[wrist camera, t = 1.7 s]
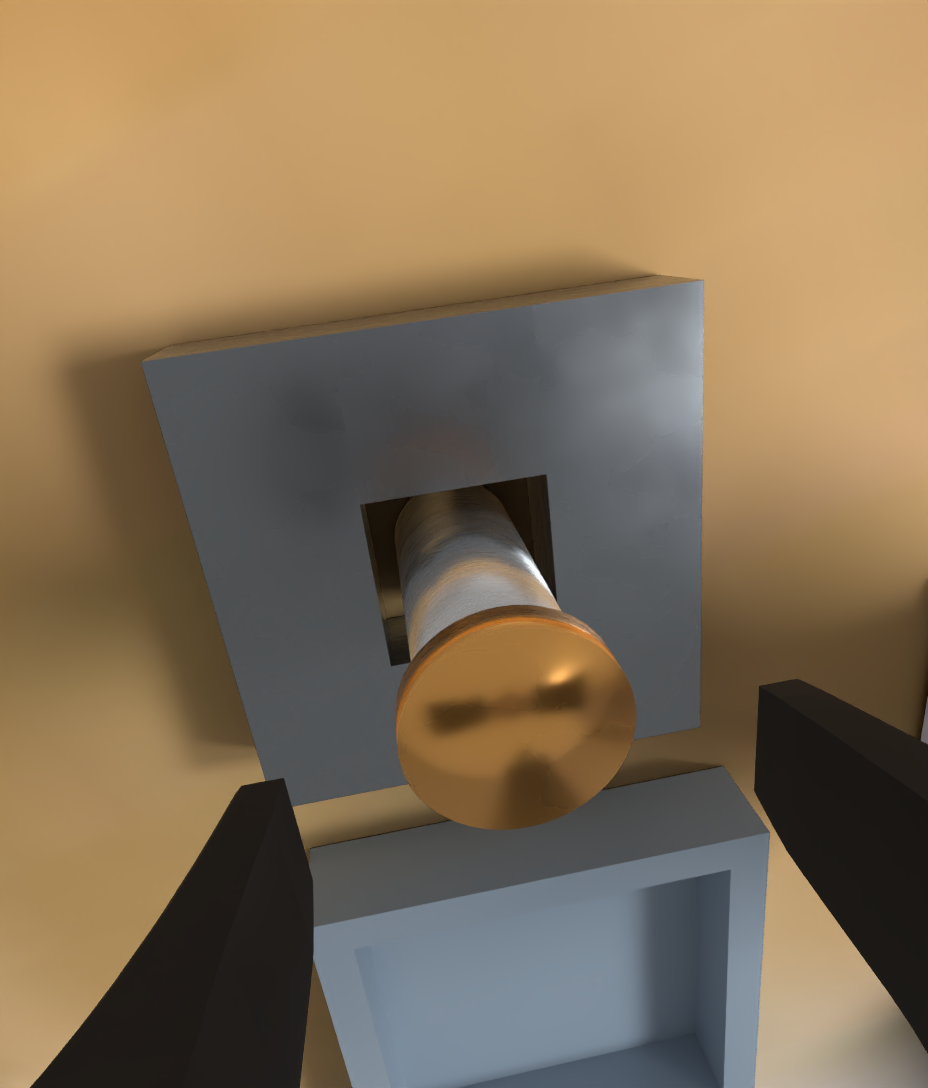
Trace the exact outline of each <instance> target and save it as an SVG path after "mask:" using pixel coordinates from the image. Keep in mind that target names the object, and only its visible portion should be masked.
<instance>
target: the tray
mask: <svg viewBox="0 0 928 1088" xmlns="http://www.w3.org/2000/svg"><path fill="white" fill-rule="evenodd" d="M769 839H770V832H769V830H768V829H767V827H766V826H765V825H764V823H763V822H762V820H761V819H760V817H759V816H758V815H757V813H756V812H755V810H754V809H753V807H752V806H751V805H750V803H749V802H748V800H747V799H746V797H745V796H744V795H743V793H742V792H741V790H740V789H739V787H738V786H737V785H736V783H735V782H734V780H733V779H732V777H731V776H730V775H729V773H728V772H727V770H726V769H725V767H724V766H722V767H717V768H712V769H707V770H702V771H697V772H692V773H687V774H682V775H677V776H672V777H667V778H662V779H657V780H652V781H647V782H642V783H637V784H632V785H627V786H622V787H617V788H612V789H607V790H602V791H600V792H599V793H598V794H597V795H595V796H594V797H593V798H591V799H590V800H589V801H588V802H586V803H585V804H583V805H582V806H580V807H579V808H577V809H575V810H574V811H572V812H570V813H568V814H566V815H564V816H562V817H559V818H557V819H554V820H552V821H549V822H546V823H543V824H539V825H535V826H531V827H526V828H519V829H507V830H494V829H483V828H477V827H471V826H468V825H464V824H461V823H458V822H455V821H453V820H452V821H447V822H442V823H437V824H432V825H427V826H422V827H417V828H412V829H407V830H402V831H397V832H392V833H387V834H382V835H377V836H372V837H367V838H362V839H356V840H351V841H346V842H341V843H336V844H331V845H326V846H321V847H316V848H311V849H310V860H309V868H310V871H311V875H312V878H313V899H314V955H313V959H314V963H315V966H316V969H317V972H318V976H319V979H320V982H321V986H322V989H323V992H324V996H325V999H326V1002H327V1006H328V1009H329V1012H330V1015H331V1019H332V1022H333V1025H334V1029H335V1032H336V1035H337V1039H338V1042H339V1045H340V1048H341V1052H342V1055H343V1058H344V1062H345V1065H346V1068H347V1072H348V1075H349V1078H350V1082H351V1085H352V1088H754V1085H755V1068H756V1052H757V1035H758V1019H759V1003H760V986H761V970H762V954H763V937H764V921H765V904H766V888H767V872H768V855H769Z"/></svg>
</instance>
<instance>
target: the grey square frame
mask: <svg viewBox="0 0 928 1088" xmlns="http://www.w3.org/2000/svg"><path fill="white" fill-rule="evenodd" d="M703 334H704V280H699V279H690V278H682V277H673V276H664V275H656V276H649V277H642V278H635V279H628V280H621V281H614V282H607V283H600V284H593V285H586V286H579V287H572V288H565V289H558V290H551V291H545V292H538V293H531V294H524V295H517V296H510V297H503V298H496V299H489V300H482V301H475V302H468V303H461V304H454V305H447V306H440V307H433V308H426V309H419V310H412V311H405V312H398V313H391V314H384V315H377V316H370V317H364V318H357V319H350V320H343V321H336V322H329V323H322V324H315V325H308V326H301V327H294V328H287V329H280V330H273V331H266V332H259V333H252V334H245V335H238V336H231V337H224V338H217V339H210V340H203V341H196V342H189V343H183V344H176V345H169V346H167V347H166V348H164V349H162V350H160V351H159V352H157V353H155V354H153V355H152V356H150V357H148V358H146V359H145V360H143V361H141V364H142V368H143V371H144V374H145V378H146V381H147V384H148V388H149V391H150V394H151V398H152V401H153V405H154V408H155V411H156V415H157V418H158V421H159V425H160V428H161V431H162V435H163V438H164V441H165V445H166V448H167V451H168V455H169V458H170V462H171V465H172V468H173V472H174V475H175V478H176V482H177V485H178V488H179V492H180V495H181V498H182V502H183V505H184V508H185V512H186V515H187V519H188V522H189V525H190V529H191V532H192V535H193V539H194V542H195V545H196V549H197V552H198V555H199V559H200V562H201V566H202V569H203V572H204V576H205V579H206V582H207V586H208V589H209V592H210V596H211V599H212V602H213V606H214V609H215V612H216V616H217V619H218V623H219V626H220V629H221V633H222V636H223V639H224V643H225V646H226V649H227V653H228V656H229V659H230V663H231V666H232V669H233V673H234V676H235V680H236V683H237V686H238V690H239V693H240V696H241V700H242V703H243V706H244V710H245V713H246V716H247V720H248V723H249V727H250V730H251V733H252V737H253V740H254V743H255V747H256V750H257V753H258V757H259V760H260V763H261V767H262V770H263V773H264V777H265V780H266V781H269V780H275V779H280V778H284V780H285V783H286V787H287V790H288V794H289V797H290V801H291V804H292V807H293V806H298V805H303V804H308V803H313V802H318V801H323V800H328V799H334V798H339V797H344V796H349V795H354V794H359V793H364V792H369V791H375V790H380V789H385V788H390V787H395V786H400V785H405V784H408V782H407V780H406V778H405V776H404V774H403V771H402V768H401V765H400V761H399V757H398V748H397V737H396V725H395V702H396V697H397V691H398V688H399V685H400V682H401V680H402V677H403V675H404V673H405V671H406V669H407V667H408V666H409V664H410V662H411V659H410V652H409V644H408V637H407V629H406V622H405V616H402V617H396V618H391V619H387V617H386V612H385V607H384V601H383V596H382V591H381V586H380V580H379V575H378V570H377V565H376V559H375V554H374V549H373V544H372V538H371V533H370V528H369V523H368V517H367V512H366V507H365V504H367V503H373V502H379V501H385V500H391V499H398V498H404V497H410V496H416V495H422V494H428V493H434V492H440V491H446V490H452V489H459V488H465V487H471V486H477V485H483V484H489V483H495V482H501V481H507V480H514V479H520V478H526V477H527V484H528V495H529V505H530V516H531V527H532V538H533V548H534V559H535V564H536V566H537V568H538V569H539V571H540V573H541V575H542V577H543V578H544V580H545V582H546V584H547V586H548V587H549V589H550V591H551V593H552V595H553V596H554V598H555V600H556V602H557V604H558V605H559V607H560V609H561V611H562V612H564V613H566V614H569V615H571V616H573V617H575V618H577V619H578V620H580V621H582V622H584V623H585V624H586V625H587V626H589V627H590V628H591V629H593V630H594V631H595V632H596V633H597V634H598V635H599V636H600V637H601V639H602V640H603V641H604V642H605V644H606V645H607V647H608V648H609V650H610V651H611V653H612V654H613V656H614V658H615V659H616V661H617V662H618V664H619V666H620V667H621V669H622V670H623V672H624V674H625V675H626V677H627V679H628V681H629V684H630V686H631V688H632V691H633V695H634V699H635V705H636V728H635V733H634V738H633V740H636V739H642V738H647V737H652V736H657V735H662V734H667V733H672V732H677V731H683V730H688V729H693V728H698V727H700V668H701V556H702V445H703Z"/></svg>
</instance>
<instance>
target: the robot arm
mask: <svg viewBox="0 0 928 1088" xmlns="http://www.w3.org/2000/svg"><path fill="white" fill-rule="evenodd" d="M754 791H755V793H756V795H757V797H758V799H759V801H760V803H761V805H762V806H763V808H764V810H765V812H766V814H767V816H768V818H769V820H770V822H771V823H772V825H773V827H774V829H775V831H776V832H777V834H778V836H779V838H780V839H781V841H782V843H783V845H784V846H785V848H786V850H787V852H788V853H789V855H790V856H791V858H792V859H793V860H794V862H795V863H796V865H797V866H798V868H799V869H800V870H801V872H802V873H803V875H804V876H805V877H806V879H807V880H808V882H809V883H810V884H811V886H812V887H813V889H814V890H815V891H816V893H817V894H818V896H819V897H820V899H821V900H822V901H823V903H824V904H825V905H826V907H827V908H828V910H829V911H830V912H831V914H832V915H833V916H834V918H835V919H836V921H837V922H838V923H839V925H840V926H841V928H842V929H843V930H844V932H845V933H846V934H847V936H848V937H849V939H850V940H851V941H852V943H853V944H854V945H855V947H856V948H857V950H858V951H859V952H860V954H861V955H862V957H863V958H864V959H865V961H866V962H867V963H868V965H869V966H870V968H871V969H872V970H873V972H874V973H875V975H876V976H877V977H878V979H879V980H880V981H881V983H882V984H883V986H884V987H885V988H886V990H887V991H888V992H889V994H890V995H891V997H892V998H893V1000H894V1001H895V1003H896V1004H897V1006H898V1007H899V1009H900V1010H901V1012H902V1013H903V1015H904V1016H905V1018H906V1019H907V1021H908V1022H909V1024H910V1025H911V1027H912V1028H913V1030H914V1031H915V1033H916V1035H917V1036H918V1038H919V1040H920V1041H921V1043H922V1045H923V1046H924V1048H925V1050H926V1051H927V1053H928V698H927V704H926V710H925V717H924V723H923V729H922V735H921V741H920V740H918V739H916V738H914V737H912V736H910V735H908V734H906V733H904V732H903V731H901V730H899V729H897V728H895V727H893V726H891V725H889V724H887V723H885V722H883V721H881V720H879V719H877V718H875V717H873V716H871V715H869V714H868V713H866V712H864V711H862V710H860V709H858V708H856V707H854V706H852V705H850V704H848V703H846V702H844V701H842V700H840V699H838V698H836V697H834V696H833V695H831V694H829V693H827V692H825V691H823V690H820V689H818V688H816V687H814V686H812V685H810V684H808V683H806V682H803V681H801V680H799V679H794V680H788V681H783V682H778V683H773V684H768V685H762V686H759V702H758V722H757V743H756V763H755V784H754ZM313 955H314V899H313V878H312V875H311V871H310V868H309V864H308V861H307V857H306V854H305V850H304V847H303V843H302V840H301V836H300V833H299V829H298V826H297V822H296V819H295V815H294V811H293V808H292V804H291V801H290V797H289V794H288V790H287V787H286V783H285V780H284V778H280V779H275V780H269V781H264V782H259V783H254V784H249V785H244V786H241V787H240V789H239V790H238V791H237V792H236V794H235V795H234V797H233V799H232V800H231V802H230V804H229V806H228V807H227V809H226V811H225V812H224V814H223V816H222V818H221V819H220V821H219V823H218V824H217V826H216V828H215V829H214V831H213V833H212V835H211V836H210V838H209V840H208V841H207V843H206V845H205V846H204V848H203V850H202V851H201V853H200V854H199V856H198V858H197V859H196V861H195V863H194V864H193V866H192V868H191V869H190V871H189V872H188V874H187V875H186V877H185V879H184V880H183V882H182V883H181V885H180V886H179V888H178V890H177V891H176V893H175V894H174V896H173V897H172V899H171V900H170V902H169V904H168V905H167V907H166V908H165V910H164V911H163V913H162V914H161V916H160V917H159V919H158V920H157V922H156V923H155V925H154V926H153V928H152V929H151V931H150V932H149V934H148V935H147V936H146V938H145V939H144V941H143V942H142V944H141V945H140V946H139V948H138V949H137V951H136V952H135V953H134V955H133V956H132V958H131V959H130V961H129V962H128V963H127V965H126V966H125V968H124V969H123V970H122V972H121V973H120V975H119V976H118V978H117V979H116V980H115V982H114V983H113V984H112V986H111V987H110V989H109V990H108V991H107V993H106V994H105V995H104V997H103V998H102V999H101V1000H100V1002H99V1003H98V1004H97V1006H96V1007H95V1008H94V1010H93V1011H92V1012H91V1014H90V1015H89V1016H88V1017H87V1019H86V1020H85V1021H84V1023H83V1024H82V1025H81V1026H80V1028H79V1029H78V1030H77V1032H76V1033H75V1034H74V1035H73V1036H72V1038H71V1039H70V1040H69V1041H68V1043H67V1044H66V1045H65V1046H64V1048H63V1049H62V1050H61V1051H60V1053H59V1054H58V1055H57V1056H56V1057H55V1059H54V1060H53V1061H52V1062H51V1064H50V1065H49V1066H48V1067H47V1068H46V1070H45V1071H44V1072H43V1073H42V1074H41V1076H40V1077H39V1078H38V1079H37V1080H36V1081H35V1082H34V1084H33V1085H32V1086H31V1087H30V1088H300V1079H301V1070H302V1061H303V1051H304V1042H305V1033H306V1024H307V1014H308V1004H309V995H310V985H311V975H312V965H313Z"/></svg>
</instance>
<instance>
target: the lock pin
mask: <svg viewBox="0 0 928 1088" xmlns="http://www.w3.org/2000/svg"><path fill="white" fill-rule="evenodd" d="M395 546H396V554H397V562H398V569H399V577H400V584H401V592H402V599H403V607H404V614H405V622H406V629H407V637H408V644H409V652H410V659H411V662H410V664H409V666H408V667H407V669H406V671H405V673H404V675H403V677H402V680H401V682H400V685H399V688H398V691H397V697H396V702H395V725H396V737H397V748H398V757H399V761H400V765H401V768H402V771H403V774H404V776H405V778H406V780H407V782H408V784H409V785H410V787H411V788H412V789H413V791H414V792H415V794H416V795H417V796H418V797H419V798H420V799H421V800H422V801H423V802H424V803H425V804H426V805H428V806H429V807H430V808H431V809H433V810H434V811H436V812H437V813H439V814H441V815H442V816H444V817H446V818H448V819H451V820H453V821H455V822H458V823H461V824H464V825H468V826H471V827H477V828H483V829H494V830H507V829H519V828H526V827H531V826H535V825H539V824H543V823H546V822H549V821H552V820H554V819H557V818H559V817H562V816H564V815H566V814H568V813H570V812H572V811H574V810H575V809H577V808H579V807H580V806H582V805H583V804H585V803H586V802H588V801H589V800H590V799H591V798H593V797H594V796H595V795H597V794H598V793H599V792H600V791H601V790H602V789H603V788H604V787H605V786H606V785H607V784H608V783H609V782H610V780H611V779H612V778H613V777H614V776H615V774H616V773H617V771H618V770H619V768H620V767H621V765H622V764H623V762H624V760H625V758H626V756H627V754H628V752H629V750H630V747H631V744H632V741H633V738H634V733H635V728H636V705H635V699H634V695H633V691H632V688H631V686H630V684H629V681H628V679H627V677H626V675H625V674H624V672H623V670H622V669H621V667H620V666H619V664H618V662H617V661H616V659H615V658H614V656H613V654H612V653H611V651H610V650H609V648H608V647H607V645H606V644H605V642H604V641H603V640H602V639H601V637H600V636H599V635H598V634H597V633H596V632H595V631H594V630H593V629H591V628H590V627H589V626H587V625H586V624H585V623H584V622H582V621H580V620H578V619H577V618H575V617H573V616H571V615H569V614H566V613H564V612H562V611H561V609H560V607H559V605H558V604H557V602H556V600H555V598H554V596H553V595H552V593H551V591H550V589H549V587H548V586H547V584H546V582H545V580H544V578H543V577H542V575H541V573H540V571H539V569H538V568H537V566H536V564H535V562H534V560H533V559H532V557H531V555H530V553H529V551H528V550H527V548H526V546H525V544H524V542H523V541H522V539H521V537H520V535H519V533H518V532H517V530H516V528H515V526H514V524H513V523H512V521H511V519H510V517H509V515H508V514H507V512H506V510H505V508H504V506H503V505H502V503H501V502H500V501H499V499H498V498H497V497H496V496H495V495H494V494H493V493H491V492H490V491H489V490H487V489H486V488H484V487H483V486H480V485H477V486H471V487H465V488H459V489H452V490H446V491H440V492H434V493H428V494H422V495H416V496H413V497H412V498H411V499H410V500H409V501H408V502H407V503H406V505H405V506H404V508H403V509H402V511H401V513H400V515H399V517H398V520H397V523H396V528H395Z"/></svg>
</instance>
